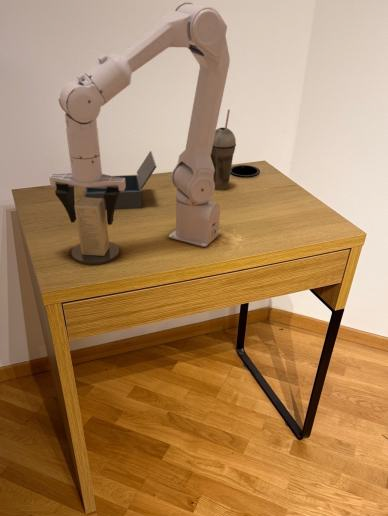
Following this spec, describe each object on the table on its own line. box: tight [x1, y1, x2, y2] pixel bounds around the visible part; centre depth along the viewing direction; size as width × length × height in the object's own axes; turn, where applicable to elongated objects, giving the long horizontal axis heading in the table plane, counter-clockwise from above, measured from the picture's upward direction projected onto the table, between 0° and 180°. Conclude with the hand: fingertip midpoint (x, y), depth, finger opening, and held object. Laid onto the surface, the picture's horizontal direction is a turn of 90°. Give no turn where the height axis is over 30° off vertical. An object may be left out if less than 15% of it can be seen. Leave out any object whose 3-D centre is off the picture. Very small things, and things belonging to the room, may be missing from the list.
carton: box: [85, 174, 143, 211], centre depth 127 cm, size 14×12×4 cm
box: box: [74, 196, 110, 256], centre depth 102 cm, size 5×4×11 cm
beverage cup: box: [211, 109, 237, 191], centre depth 132 cm, size 7×7×20 cm
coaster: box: [71, 241, 120, 266], centre depth 106 cm, size 10×10×1 cm
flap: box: [136, 150, 157, 190], centre depth 125 cm, size 7×12×1 cm
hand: (92, 221), depth 102 cm, fingers open, 7 cm apart
